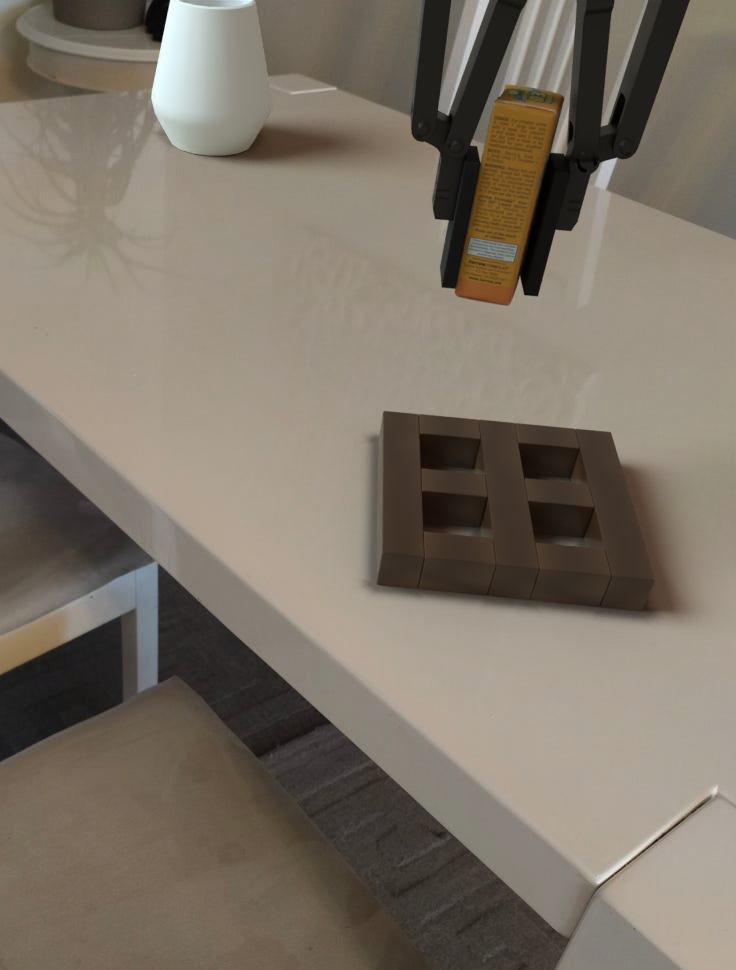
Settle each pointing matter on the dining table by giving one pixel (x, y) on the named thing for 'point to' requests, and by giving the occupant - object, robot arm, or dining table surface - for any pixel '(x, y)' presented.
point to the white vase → (212, 77)
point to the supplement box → (507, 192)
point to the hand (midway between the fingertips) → (488, 280)
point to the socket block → (507, 512)
